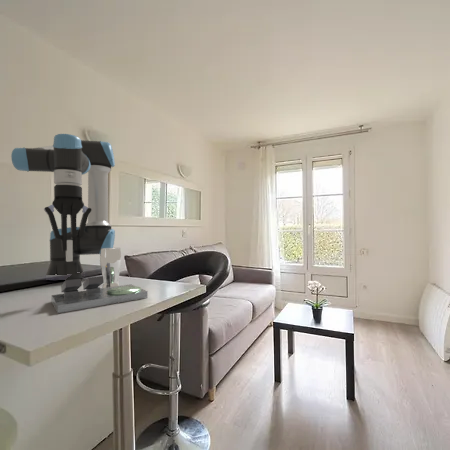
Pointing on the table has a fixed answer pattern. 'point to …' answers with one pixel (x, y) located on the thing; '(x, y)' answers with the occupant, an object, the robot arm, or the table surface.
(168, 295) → the table surface
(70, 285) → the rocker tagged
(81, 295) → the switch panel
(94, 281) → the rocker plain
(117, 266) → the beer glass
